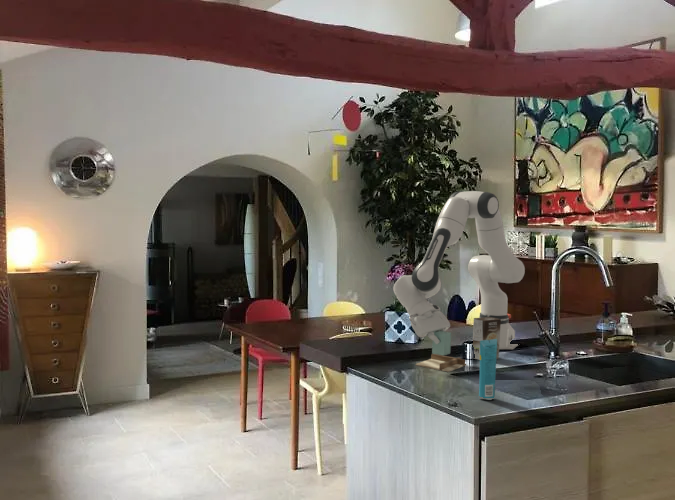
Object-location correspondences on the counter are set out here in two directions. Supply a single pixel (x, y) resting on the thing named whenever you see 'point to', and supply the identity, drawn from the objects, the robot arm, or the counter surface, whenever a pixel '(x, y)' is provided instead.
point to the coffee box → (485, 333)
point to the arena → (442, 363)
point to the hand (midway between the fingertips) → (443, 341)
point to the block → (442, 343)
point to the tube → (487, 368)
